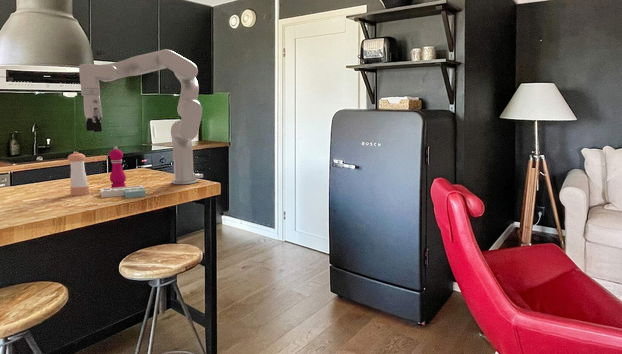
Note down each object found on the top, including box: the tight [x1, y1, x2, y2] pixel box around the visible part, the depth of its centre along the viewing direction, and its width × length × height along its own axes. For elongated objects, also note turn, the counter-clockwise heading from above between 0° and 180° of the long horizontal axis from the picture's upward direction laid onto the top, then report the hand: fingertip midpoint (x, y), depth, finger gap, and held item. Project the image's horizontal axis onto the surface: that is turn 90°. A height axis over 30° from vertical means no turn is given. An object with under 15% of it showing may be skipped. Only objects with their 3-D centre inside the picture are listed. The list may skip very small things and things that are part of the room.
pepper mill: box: [108, 146, 127, 188], centre depth 212 cm, size 7×7×20 cm
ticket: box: [99, 185, 146, 198], centre depth 199 cm, size 18×7×3 cm, turn 119°
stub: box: [123, 188, 146, 199], centre depth 195 cm, size 8×6×3 cm
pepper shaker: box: [67, 151, 90, 196], centre depth 197 cm, size 7×7×19 cm
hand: (94, 131), depth 199 cm, fingers open, 9 cm apart
